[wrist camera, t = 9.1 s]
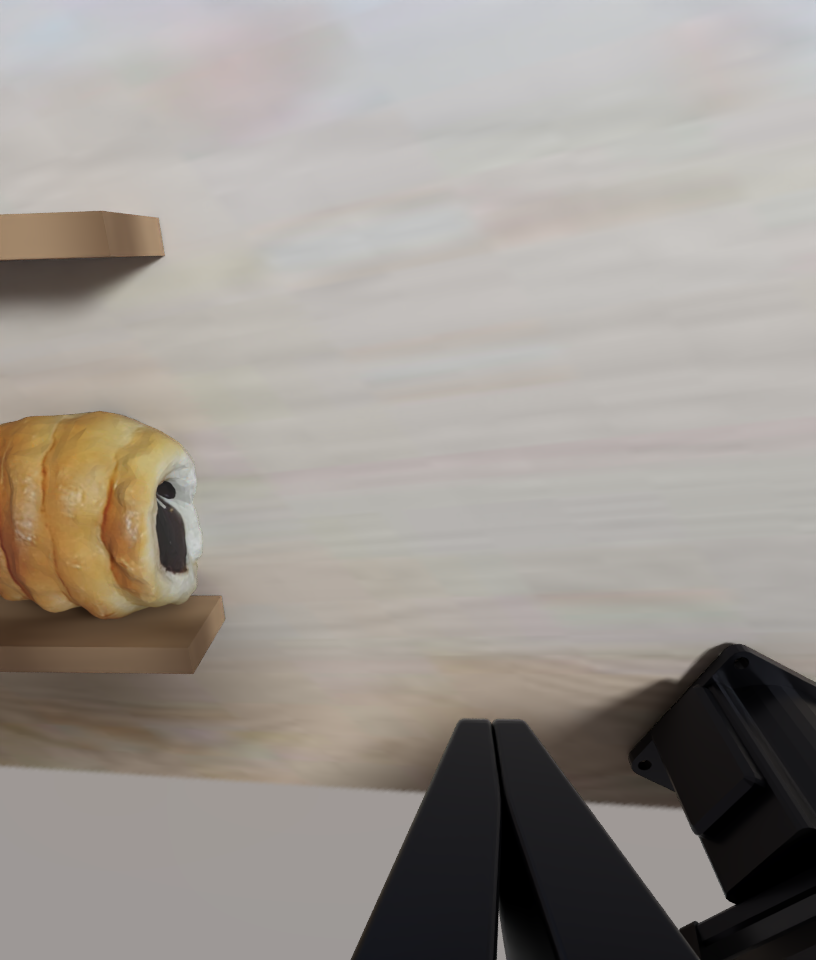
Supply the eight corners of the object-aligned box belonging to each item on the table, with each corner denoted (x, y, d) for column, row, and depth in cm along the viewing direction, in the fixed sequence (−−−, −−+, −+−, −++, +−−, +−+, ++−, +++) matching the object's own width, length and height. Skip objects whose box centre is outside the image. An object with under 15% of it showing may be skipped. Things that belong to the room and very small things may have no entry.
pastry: (-32, 575, 22) (-124, 636, 18) (-81, 395, 19) (-199, 426, 16) (217, 587, 21) (173, 652, 18) (198, 406, 19) (143, 440, 15)
